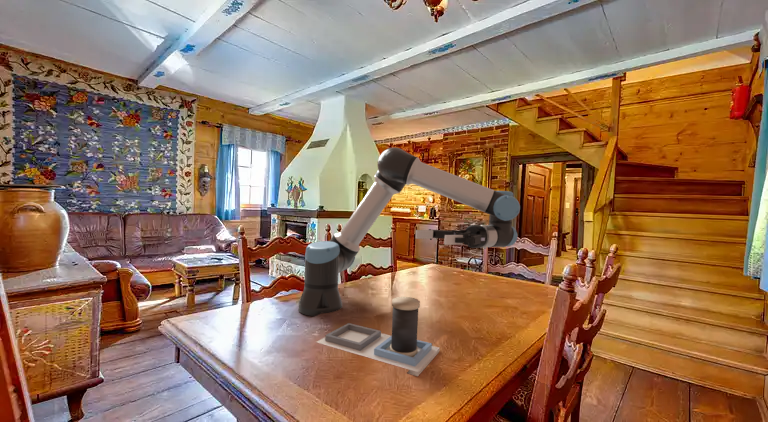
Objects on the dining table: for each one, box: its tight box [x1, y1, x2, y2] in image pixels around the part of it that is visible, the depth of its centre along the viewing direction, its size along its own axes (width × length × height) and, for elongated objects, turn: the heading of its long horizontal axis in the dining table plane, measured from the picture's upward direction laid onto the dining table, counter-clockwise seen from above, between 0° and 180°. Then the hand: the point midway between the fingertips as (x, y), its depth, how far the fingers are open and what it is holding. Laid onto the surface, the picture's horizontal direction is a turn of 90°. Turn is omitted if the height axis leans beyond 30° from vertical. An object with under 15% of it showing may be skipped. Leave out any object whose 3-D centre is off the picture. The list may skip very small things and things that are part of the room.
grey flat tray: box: [315, 322, 441, 377], centre depth 89 cm, size 29×15×2 cm, turn 62°
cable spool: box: [390, 296, 421, 357], centre depth 85 cm, size 7×7×13 cm
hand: (429, 237), depth 102 cm, fingers open, 13 cm apart
